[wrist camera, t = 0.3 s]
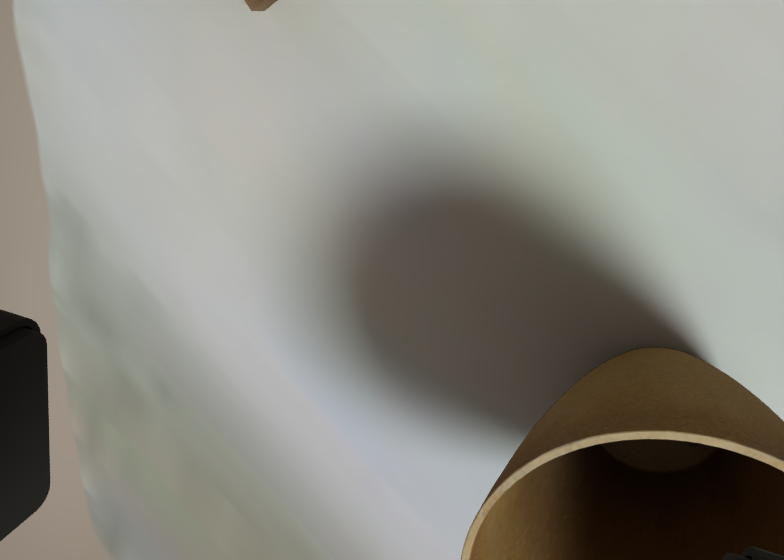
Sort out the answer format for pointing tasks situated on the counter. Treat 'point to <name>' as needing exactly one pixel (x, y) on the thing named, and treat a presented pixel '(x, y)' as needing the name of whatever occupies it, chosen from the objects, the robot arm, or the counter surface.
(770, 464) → the plant pot
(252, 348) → the counter surface
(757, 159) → the counter surface
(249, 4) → the base board
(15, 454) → the robot arm
